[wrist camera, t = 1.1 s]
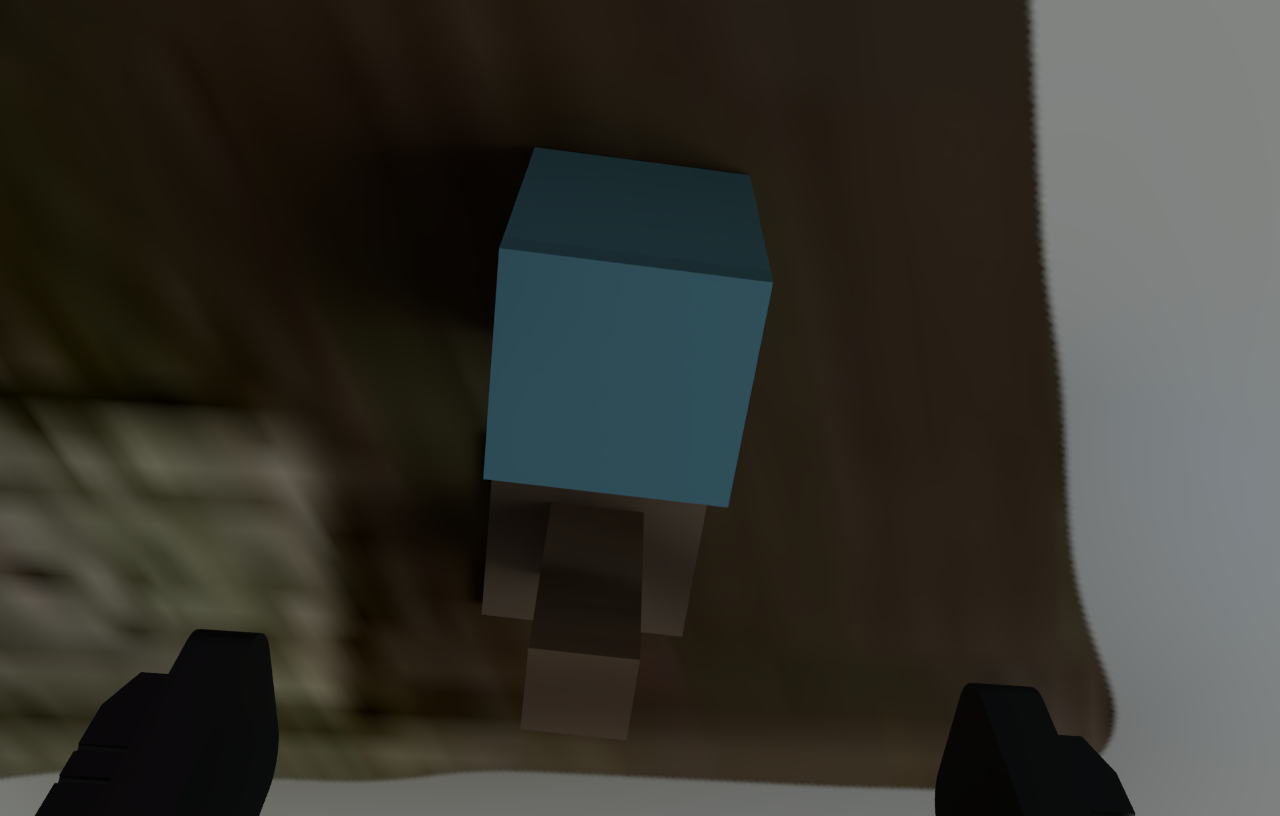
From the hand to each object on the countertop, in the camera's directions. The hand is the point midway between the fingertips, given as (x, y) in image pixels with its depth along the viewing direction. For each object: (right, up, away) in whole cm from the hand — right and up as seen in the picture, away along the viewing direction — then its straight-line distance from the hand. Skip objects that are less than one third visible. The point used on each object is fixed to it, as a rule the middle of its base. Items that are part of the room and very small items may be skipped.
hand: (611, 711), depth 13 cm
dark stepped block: (-1, 0, +19) cm, 19 cm away
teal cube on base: (0, +7, +15) cm, 17 cm away
